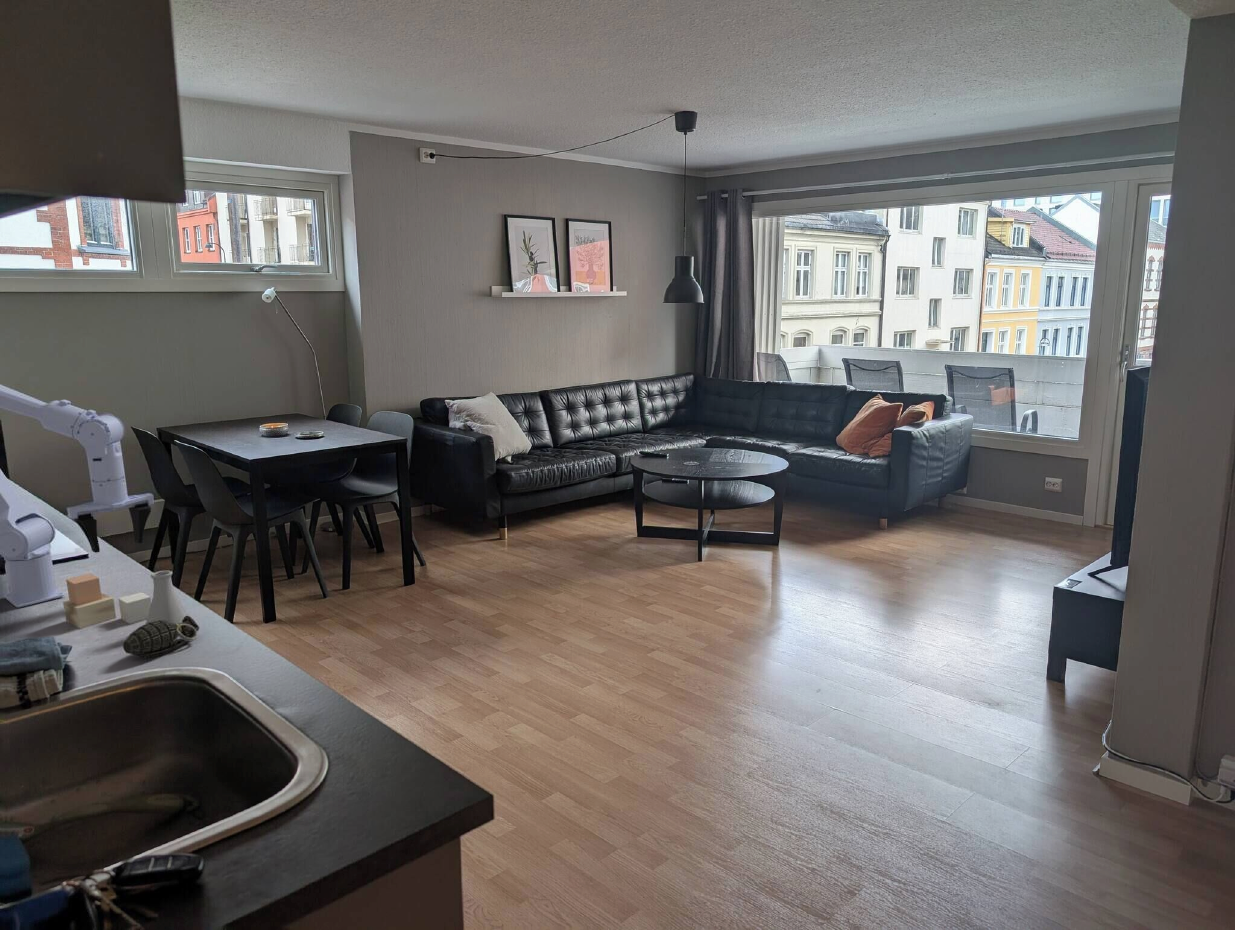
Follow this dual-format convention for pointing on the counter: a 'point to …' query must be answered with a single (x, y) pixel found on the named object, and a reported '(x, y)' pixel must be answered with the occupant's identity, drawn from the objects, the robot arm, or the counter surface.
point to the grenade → (159, 637)
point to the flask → (165, 600)
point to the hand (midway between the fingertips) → (117, 546)
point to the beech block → (90, 611)
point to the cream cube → (135, 607)
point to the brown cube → (83, 589)
